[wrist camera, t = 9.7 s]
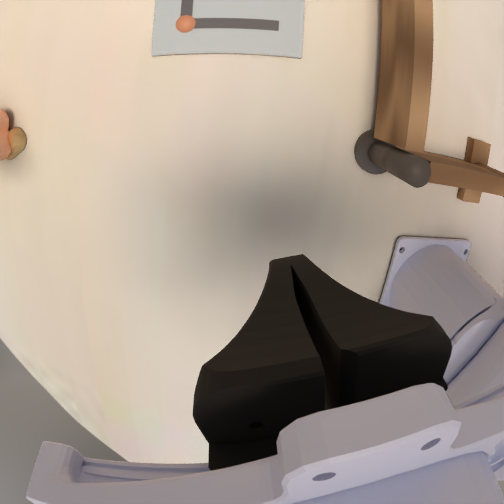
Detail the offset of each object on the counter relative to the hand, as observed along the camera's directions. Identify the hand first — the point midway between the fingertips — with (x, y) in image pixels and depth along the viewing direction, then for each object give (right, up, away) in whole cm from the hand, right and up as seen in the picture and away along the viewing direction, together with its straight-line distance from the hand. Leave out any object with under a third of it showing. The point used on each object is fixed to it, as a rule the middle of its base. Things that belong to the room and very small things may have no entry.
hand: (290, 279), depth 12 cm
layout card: (-3, +17, +2) cm, 17 cm away
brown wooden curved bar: (+7, +13, +4) cm, 15 cm away
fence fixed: (+11, +8, +7) cm, 15 cm away
